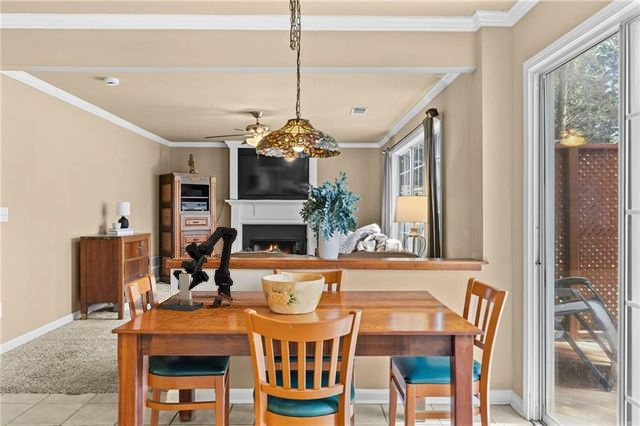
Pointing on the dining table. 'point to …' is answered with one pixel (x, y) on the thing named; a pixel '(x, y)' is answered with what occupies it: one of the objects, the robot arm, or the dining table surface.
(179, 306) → the plate
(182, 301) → the offcut
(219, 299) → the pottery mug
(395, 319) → the dining table surface
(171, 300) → the offcut
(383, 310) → the dining table surface
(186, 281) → the white upright block
